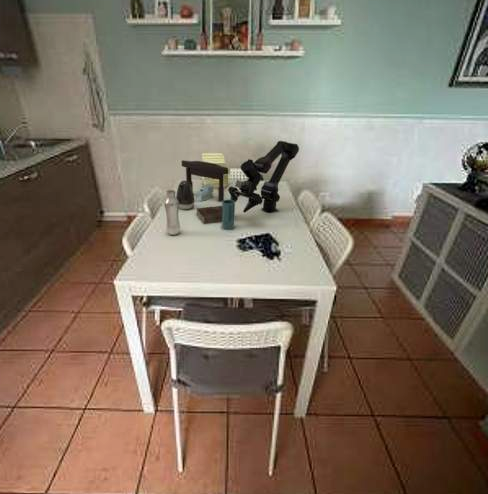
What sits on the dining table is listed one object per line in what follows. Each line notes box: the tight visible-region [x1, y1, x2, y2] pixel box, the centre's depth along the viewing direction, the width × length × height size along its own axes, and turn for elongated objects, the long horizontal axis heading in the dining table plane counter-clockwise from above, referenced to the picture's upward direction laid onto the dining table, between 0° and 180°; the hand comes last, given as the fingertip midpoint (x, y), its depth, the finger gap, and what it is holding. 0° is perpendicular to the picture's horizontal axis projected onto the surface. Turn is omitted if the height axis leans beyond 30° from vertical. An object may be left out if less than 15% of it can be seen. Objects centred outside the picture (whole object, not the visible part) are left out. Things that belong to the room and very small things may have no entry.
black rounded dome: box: [175, 180, 196, 210], centre depth 177 cm, size 10×10×15 cm
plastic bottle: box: [163, 189, 182, 236], centre depth 146 cm, size 6×7×20 cm
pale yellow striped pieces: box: [201, 152, 231, 188], centre depth 217 cm, size 30×16×18 cm, turn 7°
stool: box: [181, 160, 228, 203], centre depth 191 cm, size 16×21×33 cm
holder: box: [195, 205, 222, 225], centre depth 168 cm, size 14×14×3 cm
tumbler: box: [221, 199, 236, 231], centre depth 155 cm, size 6×6×13 cm
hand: (236, 209), depth 158 cm, fingers open, 9 cm apart
